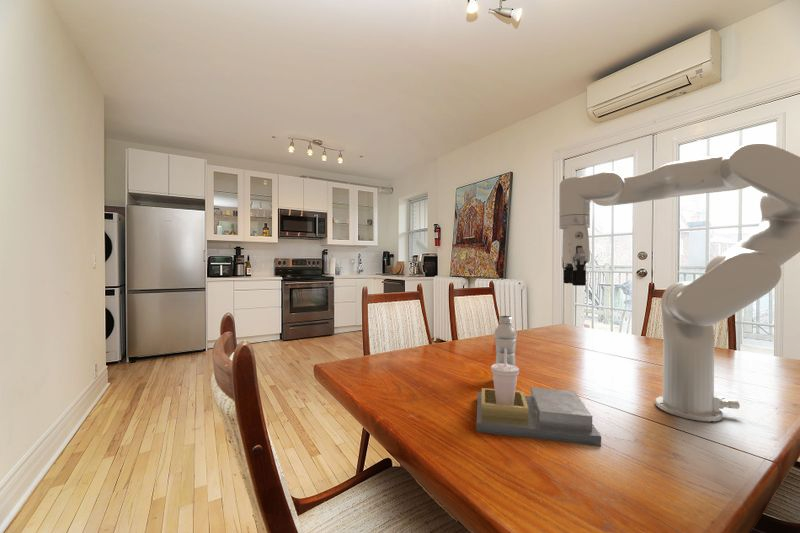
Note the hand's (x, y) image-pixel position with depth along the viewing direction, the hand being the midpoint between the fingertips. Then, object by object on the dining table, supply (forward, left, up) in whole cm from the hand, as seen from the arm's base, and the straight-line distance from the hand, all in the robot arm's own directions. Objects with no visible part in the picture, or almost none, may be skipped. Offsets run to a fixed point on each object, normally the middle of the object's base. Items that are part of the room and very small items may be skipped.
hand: (574, 284), depth 94 cm
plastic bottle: (+18, -4, -31) cm, 36 cm away
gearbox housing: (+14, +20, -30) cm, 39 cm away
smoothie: (+20, +20, -28) cm, 40 cm away
